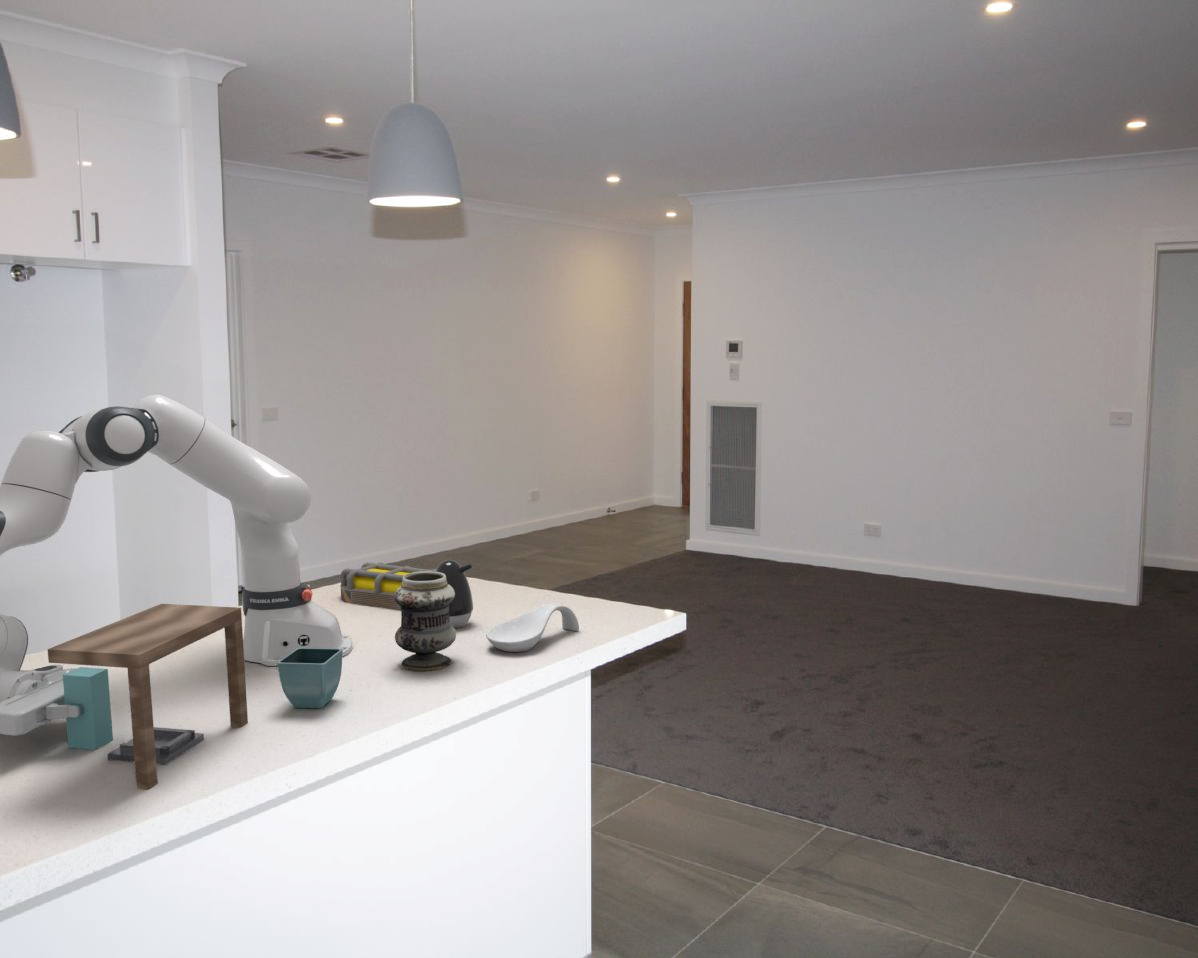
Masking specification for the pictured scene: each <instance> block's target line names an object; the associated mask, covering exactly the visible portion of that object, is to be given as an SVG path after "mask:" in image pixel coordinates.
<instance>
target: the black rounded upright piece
mask: <svg viewBox="0 0 1198 958" xmlns="http://www.w3.org/2000/svg"><path fill="white" fill-rule="evenodd" d="M435 569H436V571H435V572H441V573H444V574H445V575H446V581H447V584H449V585H450V586H451V587H452V588H453V589H454V592H455V597H454V599H453V601H452V602H451V603H450V604H449V621H450V625H451V626H452V627H453V628H454V629H458V628H461V627H463V626H465V625H466V624H467V623H468V622H469V621H470V619H471V617H472V613H473V611H474V601H473V596H472V591H471V587H470V583H469V580H468V578H467V576H466V574H465V572H467V571H469V570H471V569H473V565H472V564H471V563H468V564H465V565H462V566H461V565H460V563H459V562H457V561H456V560H453V559H446V560H443V561H441V562H440V563H439V565H438V566H437V567H436V568H435Z"/></svg>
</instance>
